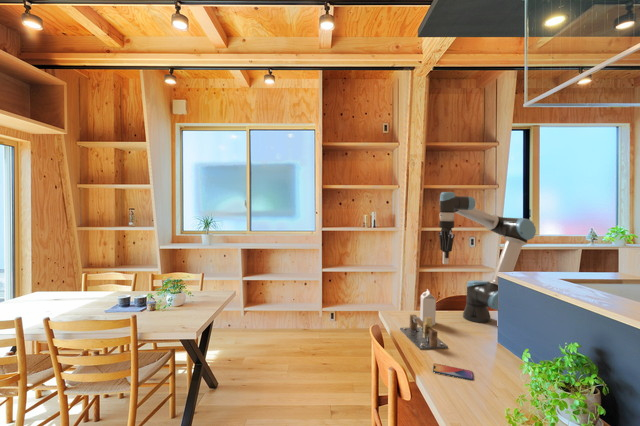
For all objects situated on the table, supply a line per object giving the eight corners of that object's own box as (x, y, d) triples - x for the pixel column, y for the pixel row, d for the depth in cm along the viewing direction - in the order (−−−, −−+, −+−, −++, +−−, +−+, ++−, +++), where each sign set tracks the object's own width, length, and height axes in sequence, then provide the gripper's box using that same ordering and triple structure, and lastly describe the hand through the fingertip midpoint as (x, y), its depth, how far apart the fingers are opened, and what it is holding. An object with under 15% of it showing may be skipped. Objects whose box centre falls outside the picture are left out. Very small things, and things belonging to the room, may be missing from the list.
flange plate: (424, 328, 182) (424, 325, 182) (447, 348, 157) (448, 345, 157) (399, 329, 180) (400, 326, 180) (420, 349, 155) (420, 346, 155)
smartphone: (473, 382, 128) (473, 379, 128) (432, 373, 134) (432, 370, 133) (472, 373, 135) (472, 370, 135) (433, 365, 140) (433, 362, 140)
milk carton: (432, 321, 194) (433, 289, 194) (435, 325, 187) (436, 292, 187) (419, 320, 195) (420, 288, 195) (422, 324, 188) (423, 291, 188)
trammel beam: (414, 327, 181) (415, 314, 181) (437, 346, 156) (437, 331, 156) (409, 327, 181) (409, 314, 181) (431, 346, 156) (431, 331, 156)
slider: (429, 339, 164) (430, 316, 163) (431, 341, 162) (432, 318, 161) (422, 339, 163) (423, 316, 163) (424, 341, 161) (425, 318, 161)
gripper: (434, 219, 185) (433, 261, 186) (446, 221, 173) (445, 266, 173) (447, 220, 186) (445, 261, 187) (459, 221, 174) (458, 265, 174)
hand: (445, 263), depth 180 cm, fingers closed
